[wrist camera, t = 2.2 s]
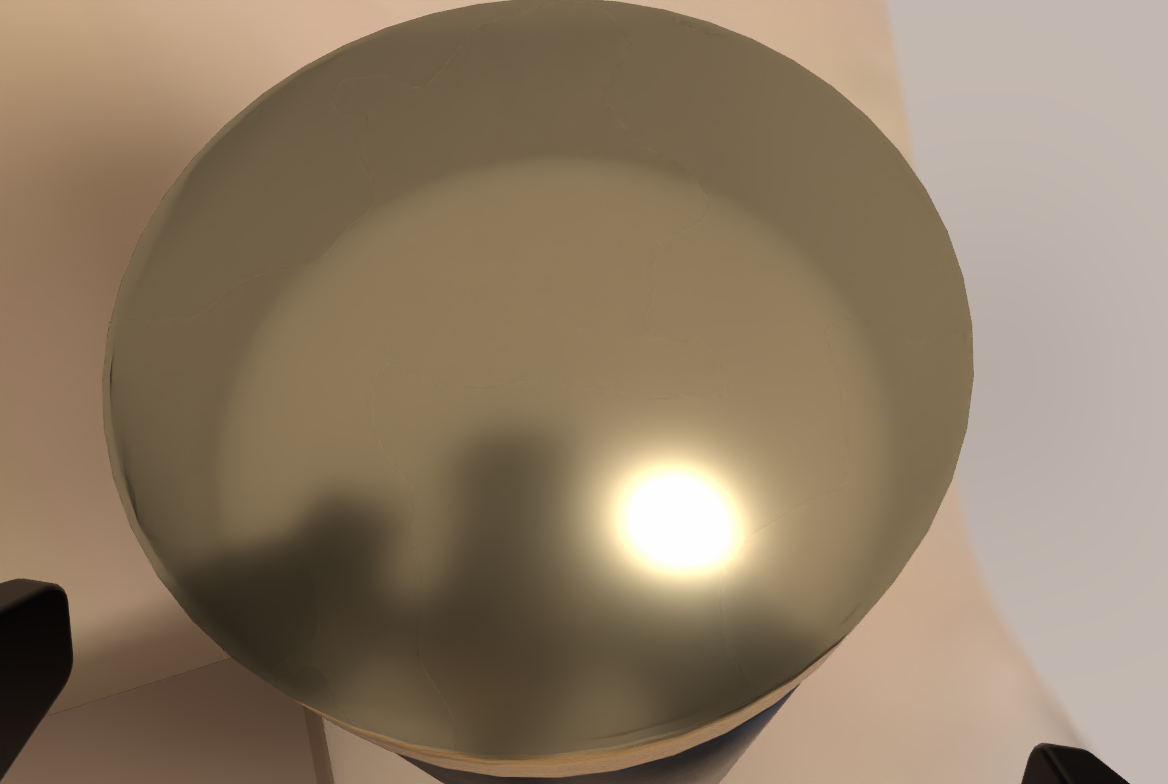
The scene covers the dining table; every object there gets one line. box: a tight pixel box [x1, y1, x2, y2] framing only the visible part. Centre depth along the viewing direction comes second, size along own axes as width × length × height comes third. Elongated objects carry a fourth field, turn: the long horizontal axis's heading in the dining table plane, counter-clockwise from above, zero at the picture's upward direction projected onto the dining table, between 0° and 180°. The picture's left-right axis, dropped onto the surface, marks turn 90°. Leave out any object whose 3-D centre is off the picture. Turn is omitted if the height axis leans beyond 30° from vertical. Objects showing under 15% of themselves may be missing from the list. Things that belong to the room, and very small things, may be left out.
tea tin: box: [103, 0, 974, 784], centre depth 13 cm, size 6×6×13 cm
